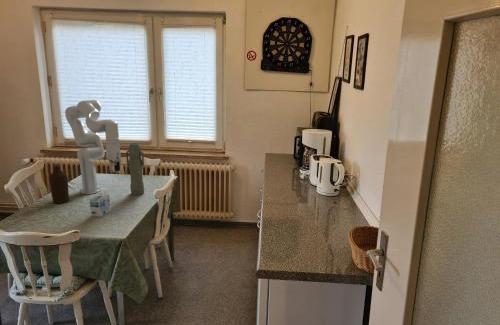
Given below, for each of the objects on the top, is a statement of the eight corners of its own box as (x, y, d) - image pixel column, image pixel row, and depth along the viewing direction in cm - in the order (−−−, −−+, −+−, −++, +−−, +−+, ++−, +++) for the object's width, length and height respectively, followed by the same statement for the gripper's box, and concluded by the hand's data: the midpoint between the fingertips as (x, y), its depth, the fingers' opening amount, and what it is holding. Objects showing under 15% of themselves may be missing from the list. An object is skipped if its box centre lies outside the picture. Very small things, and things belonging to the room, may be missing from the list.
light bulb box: (101, 217, 216) (99, 199, 214) (90, 216, 218) (88, 198, 215) (111, 210, 226) (109, 193, 224) (101, 209, 228) (99, 192, 225)
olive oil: (73, 198, 245) (68, 162, 239) (65, 204, 235) (61, 166, 229) (56, 198, 245) (52, 162, 239) (48, 204, 235) (43, 166, 228)
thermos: (144, 195, 253) (141, 145, 244) (127, 195, 252) (123, 145, 243) (147, 191, 261) (144, 142, 252) (131, 191, 261) (127, 142, 252)
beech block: (109, 170, 232) (108, 161, 230) (116, 169, 236) (116, 160, 234) (113, 172, 229) (112, 162, 227) (121, 170, 232) (120, 161, 231)
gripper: (100, 140, 230) (102, 168, 235) (114, 144, 219) (116, 173, 224) (111, 138, 236) (113, 166, 240) (125, 142, 225) (127, 171, 229)
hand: (115, 169), depth 232 cm, fingers closed on beech block, 5 cm apart
